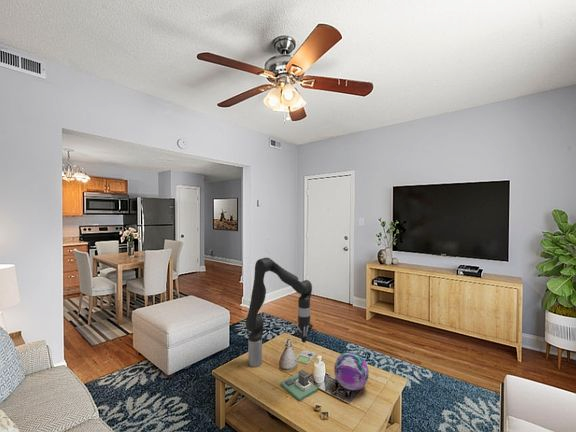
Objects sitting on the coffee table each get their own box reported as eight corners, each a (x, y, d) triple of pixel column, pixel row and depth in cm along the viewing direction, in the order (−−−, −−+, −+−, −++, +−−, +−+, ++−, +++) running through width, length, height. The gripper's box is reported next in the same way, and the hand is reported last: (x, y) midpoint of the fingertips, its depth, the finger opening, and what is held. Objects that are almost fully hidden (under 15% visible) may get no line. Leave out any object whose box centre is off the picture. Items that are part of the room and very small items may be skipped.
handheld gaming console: (316, 352, 199) (307, 363, 186) (316, 354, 199) (307, 365, 186) (303, 349, 204) (294, 359, 191) (303, 351, 204) (294, 361, 191)
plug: (298, 384, 162) (298, 371, 162) (302, 382, 165) (302, 369, 164) (304, 389, 158) (304, 375, 158) (308, 386, 161) (308, 373, 160)
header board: (280, 384, 165) (280, 379, 165) (298, 375, 173) (297, 370, 173) (299, 401, 151) (299, 395, 150) (317, 390, 159) (317, 384, 159)
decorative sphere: (365, 402, 149) (365, 367, 148) (330, 392, 157) (330, 358, 157) (370, 381, 167) (371, 349, 167) (338, 373, 176) (338, 343, 175)
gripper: (308, 309, 171) (308, 336, 172) (291, 314, 164) (291, 342, 164) (316, 313, 165) (316, 341, 166) (299, 318, 158) (299, 347, 158)
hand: (303, 341), depth 165 cm, fingers closed
